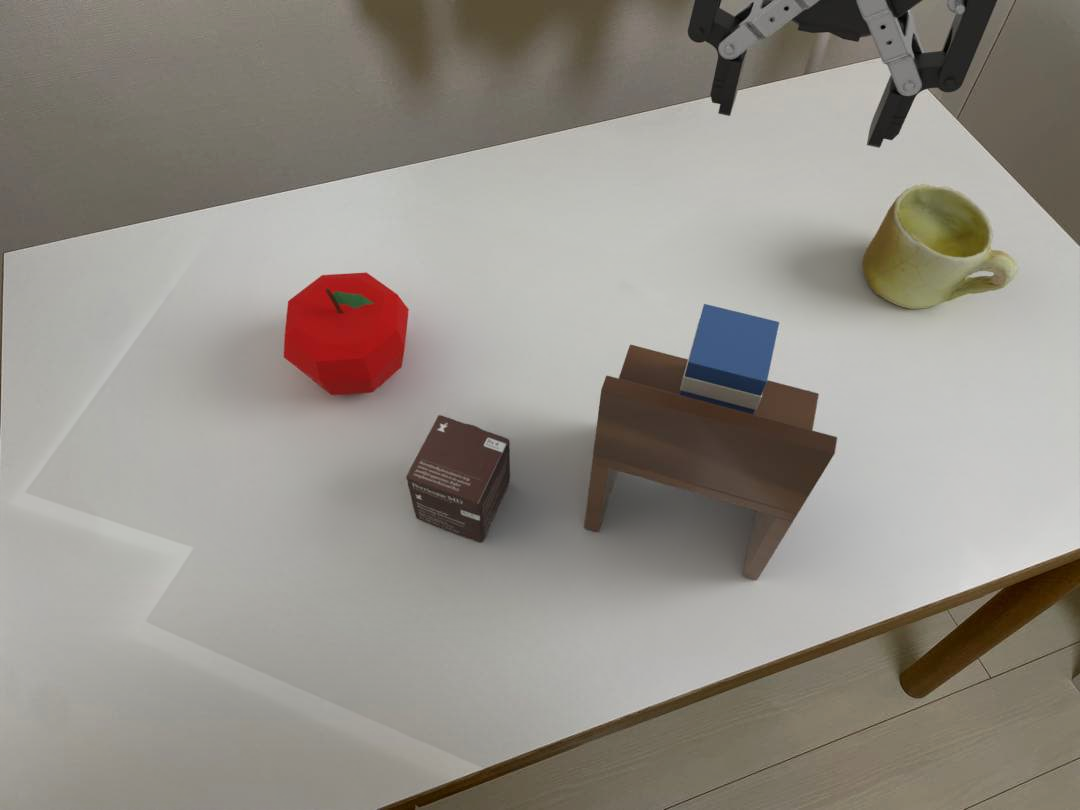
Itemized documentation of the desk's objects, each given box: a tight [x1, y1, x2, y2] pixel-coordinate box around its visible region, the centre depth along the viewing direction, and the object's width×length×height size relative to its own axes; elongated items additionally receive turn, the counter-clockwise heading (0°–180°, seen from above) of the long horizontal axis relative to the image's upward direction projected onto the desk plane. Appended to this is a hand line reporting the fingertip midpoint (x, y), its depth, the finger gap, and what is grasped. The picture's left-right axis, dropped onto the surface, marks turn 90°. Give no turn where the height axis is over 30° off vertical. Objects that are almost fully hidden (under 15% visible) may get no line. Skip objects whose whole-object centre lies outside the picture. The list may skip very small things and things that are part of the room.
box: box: [405, 414, 511, 544], centre depth 66 cm, size 6×6×7 cm
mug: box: [861, 184, 1019, 310], centre depth 79 cm, size 12×10×10 cm
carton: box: [679, 303, 780, 414], centre depth 57 cm, size 5×5×7 cm
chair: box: [583, 344, 838, 581], centre depth 61 cm, size 10×14×20 cm
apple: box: [283, 271, 409, 396], centre depth 72 cm, size 11×11×10 cm
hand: (799, 122), depth 49 cm, fingers open, 8 cm apart
